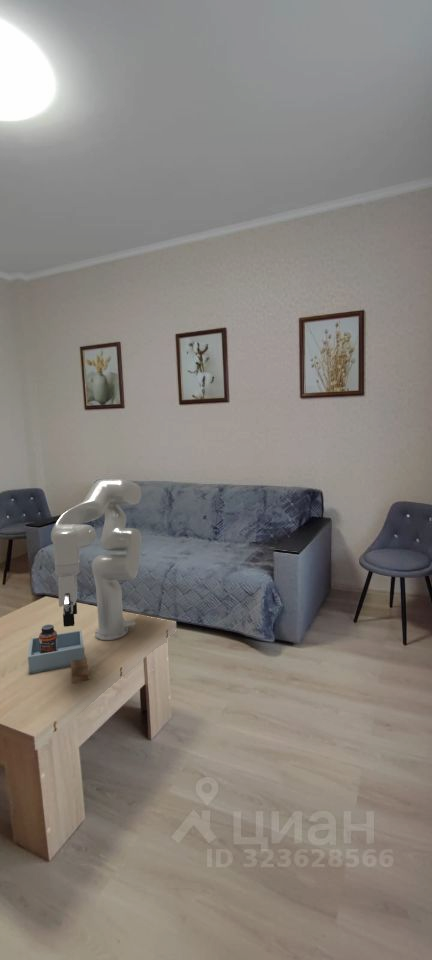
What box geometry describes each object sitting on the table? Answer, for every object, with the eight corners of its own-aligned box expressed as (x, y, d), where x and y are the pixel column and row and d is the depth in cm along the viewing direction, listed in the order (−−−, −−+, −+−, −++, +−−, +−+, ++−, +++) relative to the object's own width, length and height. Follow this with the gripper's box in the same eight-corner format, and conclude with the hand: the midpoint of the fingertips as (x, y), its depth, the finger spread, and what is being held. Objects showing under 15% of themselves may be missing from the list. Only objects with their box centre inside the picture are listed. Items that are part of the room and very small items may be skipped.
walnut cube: (87, 672, 151) (86, 658, 150) (88, 680, 146) (87, 665, 146) (71, 675, 149) (70, 660, 149) (72, 683, 145) (71, 668, 144)
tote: (82, 644, 170) (81, 630, 170) (84, 663, 157) (83, 647, 156) (32, 653, 165) (30, 638, 164) (29, 673, 151) (28, 657, 150)
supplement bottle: (40, 663, 156) (38, 631, 155) (40, 655, 161) (37, 625, 160) (59, 659, 158) (56, 628, 157) (57, 652, 164) (55, 621, 162)
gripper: (58, 561, 153) (61, 611, 154) (51, 577, 136) (54, 632, 138) (81, 560, 154) (84, 609, 156) (77, 574, 138) (80, 629, 139)
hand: (70, 619), depth 147 cm, fingers open, 9 cm apart
